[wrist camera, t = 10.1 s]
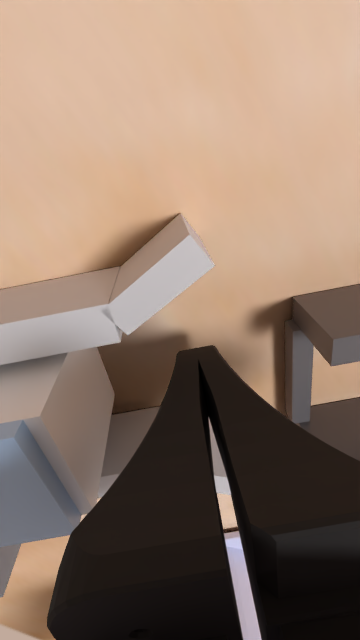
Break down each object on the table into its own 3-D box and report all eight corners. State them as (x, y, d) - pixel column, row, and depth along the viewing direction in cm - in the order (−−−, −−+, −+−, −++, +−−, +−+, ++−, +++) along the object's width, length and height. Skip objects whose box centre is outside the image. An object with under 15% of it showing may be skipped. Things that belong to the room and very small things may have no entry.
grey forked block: (233, 467, 16) (258, 571, 12) (-18, 511, 16) (-75, 627, 12) (181, 107, 8) (204, 64, 4) (-292, 206, 9) (-682, 250, 5)
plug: (115, 393, 13) (91, 531, 8) (26, 410, 13) (-48, 555, 8) (84, 314, 11) (32, 433, 6) (-19, 334, 11) (-148, 466, 7)
